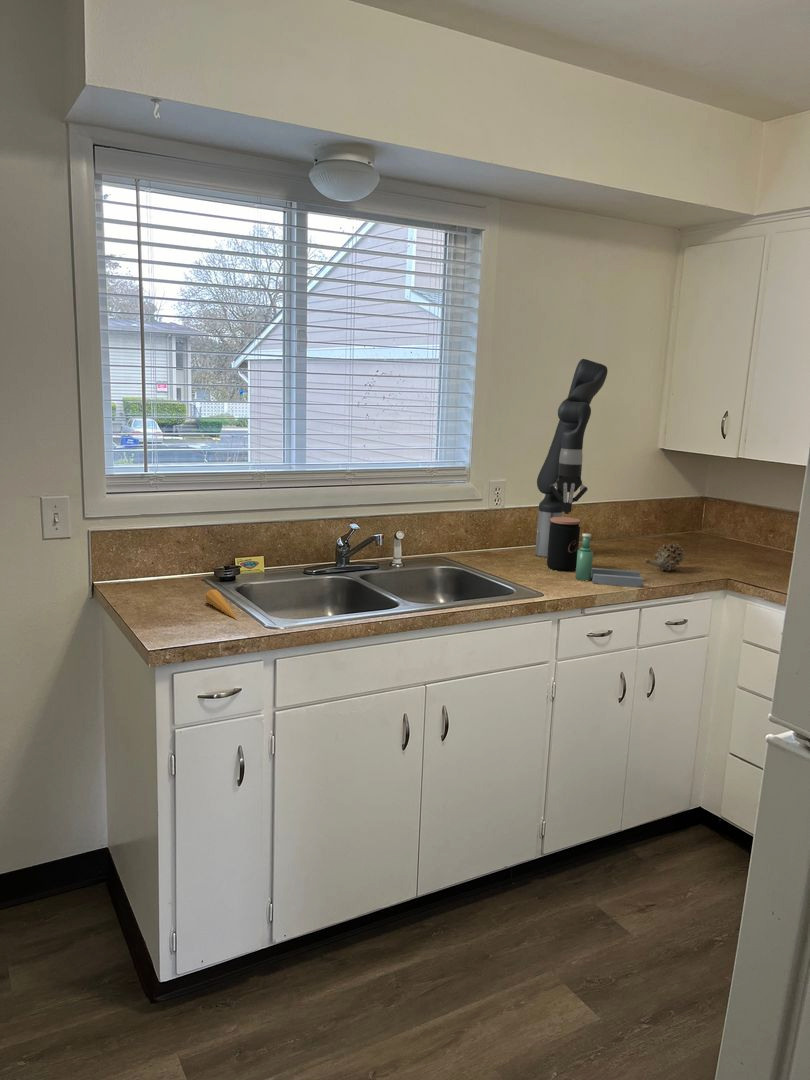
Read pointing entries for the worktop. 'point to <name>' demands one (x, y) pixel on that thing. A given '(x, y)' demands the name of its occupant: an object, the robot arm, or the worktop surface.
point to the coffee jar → (563, 543)
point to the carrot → (219, 602)
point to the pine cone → (667, 557)
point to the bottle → (584, 559)
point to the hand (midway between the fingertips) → (566, 513)
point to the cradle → (617, 577)
